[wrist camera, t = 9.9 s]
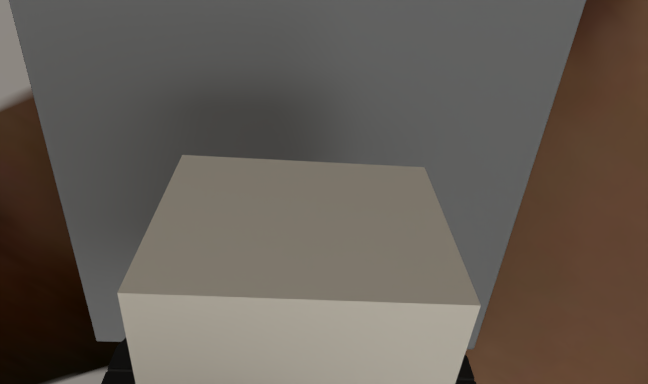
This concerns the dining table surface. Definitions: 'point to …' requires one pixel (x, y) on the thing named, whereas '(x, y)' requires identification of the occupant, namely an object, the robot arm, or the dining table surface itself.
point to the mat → (289, 106)
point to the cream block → (297, 278)
